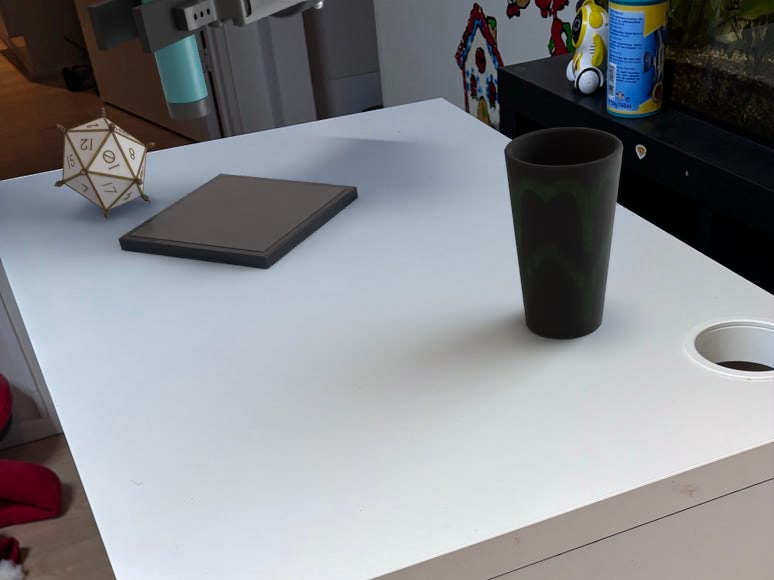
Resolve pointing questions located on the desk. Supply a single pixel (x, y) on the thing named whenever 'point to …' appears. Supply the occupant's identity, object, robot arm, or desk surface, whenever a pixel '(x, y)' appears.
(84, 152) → the game die
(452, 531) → the desk surface
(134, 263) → the desk surface
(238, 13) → the robot arm
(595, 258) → the cup
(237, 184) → the plate
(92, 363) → the desk surface
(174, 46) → the teal cylinder
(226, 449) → the desk surface
